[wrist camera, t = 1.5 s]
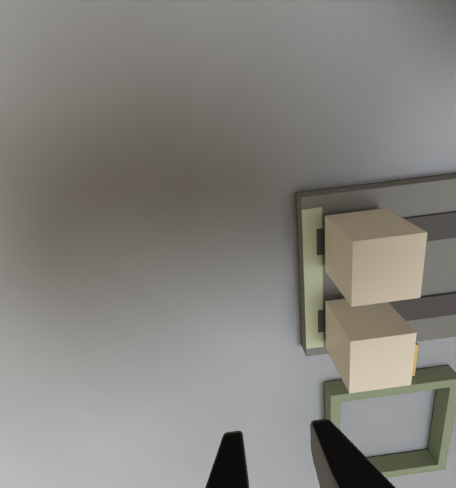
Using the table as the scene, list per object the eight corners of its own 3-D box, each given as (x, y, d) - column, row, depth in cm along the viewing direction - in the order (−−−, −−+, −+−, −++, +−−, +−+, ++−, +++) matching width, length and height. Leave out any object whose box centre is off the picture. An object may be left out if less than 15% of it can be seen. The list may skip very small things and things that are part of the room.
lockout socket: (453, 333, 22) (466, 345, 21) (435, 453, 26) (445, 469, 25) (324, 350, 22) (330, 363, 21) (325, 469, 26) (330, 485, 25)
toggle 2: (380, 293, 19) (416, 332, 16) (377, 339, 20) (411, 384, 17) (325, 301, 19) (350, 341, 16) (325, 346, 20) (349, 393, 17)
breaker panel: (504, 167, 19) (523, 171, 18) (476, 322, 22) (491, 333, 21) (296, 193, 18) (302, 198, 17) (301, 345, 22) (307, 358, 21)
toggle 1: (385, 208, 17) (427, 232, 14) (382, 263, 19) (420, 297, 15) (324, 215, 17) (352, 241, 14) (325, 270, 19) (351, 306, 15)
